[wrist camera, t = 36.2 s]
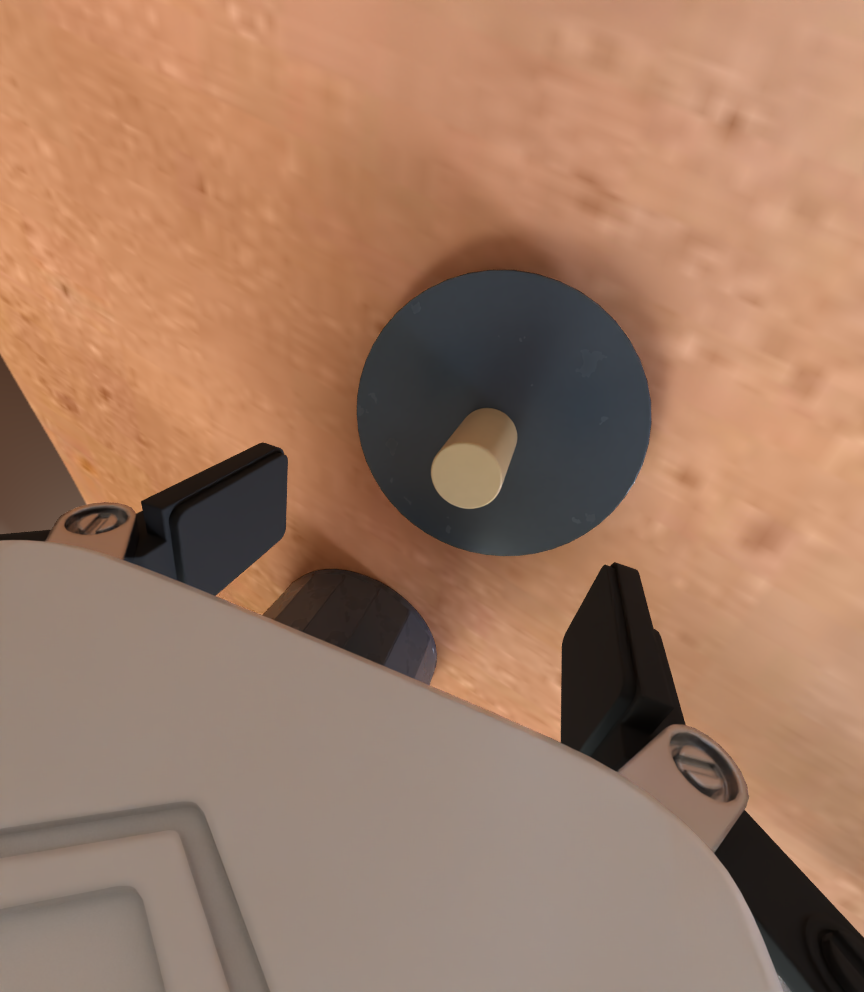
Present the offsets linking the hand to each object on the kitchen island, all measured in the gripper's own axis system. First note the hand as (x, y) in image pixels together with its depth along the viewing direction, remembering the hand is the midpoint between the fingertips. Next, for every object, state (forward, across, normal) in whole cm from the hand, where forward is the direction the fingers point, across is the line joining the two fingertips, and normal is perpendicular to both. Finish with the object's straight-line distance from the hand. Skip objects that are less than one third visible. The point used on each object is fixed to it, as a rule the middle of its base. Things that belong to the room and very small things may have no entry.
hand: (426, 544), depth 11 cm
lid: (+9, 0, -1) cm, 9 cm away
